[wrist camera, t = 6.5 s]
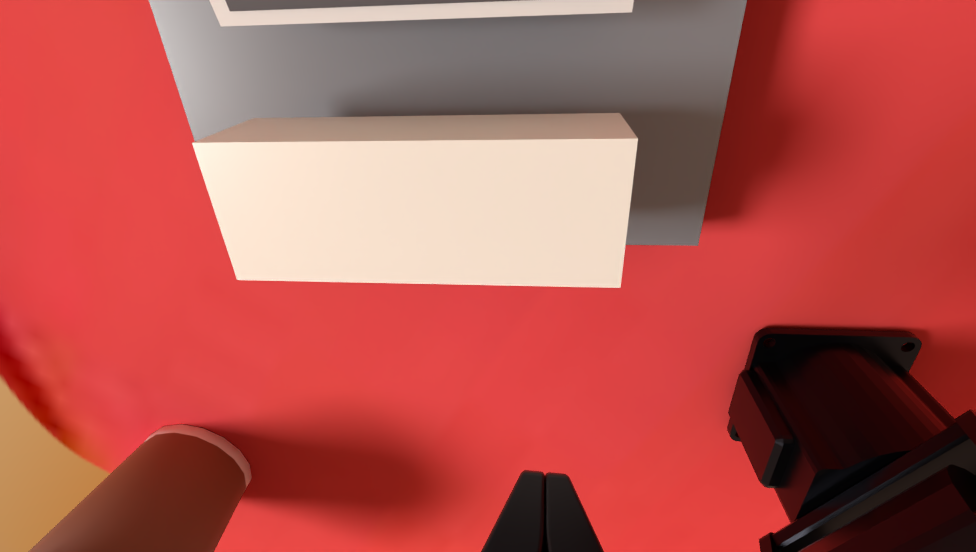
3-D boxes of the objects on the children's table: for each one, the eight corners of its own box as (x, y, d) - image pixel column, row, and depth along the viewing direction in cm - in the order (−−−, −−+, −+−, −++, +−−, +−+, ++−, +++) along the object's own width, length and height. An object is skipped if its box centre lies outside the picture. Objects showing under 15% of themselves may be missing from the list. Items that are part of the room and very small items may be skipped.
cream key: (619, 113, 14) (638, 138, 11) (607, 240, 16) (620, 287, 13) (253, 118, 15) (192, 142, 12) (284, 237, 17) (237, 279, 14)
